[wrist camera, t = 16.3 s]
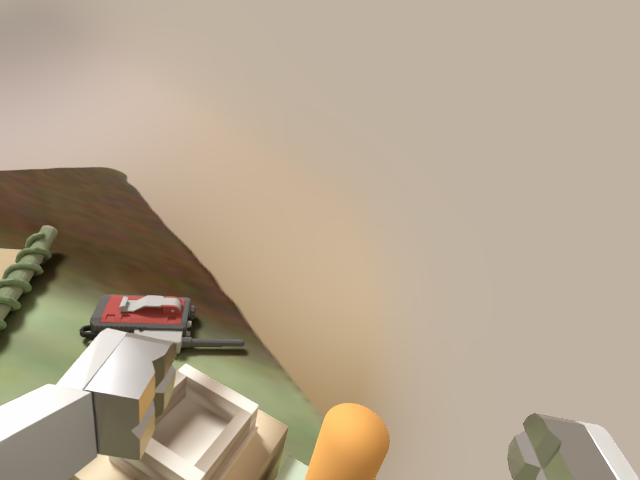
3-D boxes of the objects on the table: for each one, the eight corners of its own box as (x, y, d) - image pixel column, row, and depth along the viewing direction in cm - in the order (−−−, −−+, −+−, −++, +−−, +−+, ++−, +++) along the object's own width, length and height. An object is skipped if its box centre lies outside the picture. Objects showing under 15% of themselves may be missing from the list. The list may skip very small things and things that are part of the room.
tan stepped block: (275, 479, 39) (295, 399, 34) (190, 620, 29) (199, 538, 24) (179, 419, 42) (183, 338, 37) (74, 526, 32) (59, 436, 27)
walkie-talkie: (73, 355, 47) (243, 356, 52) (70, 326, 45) (247, 331, 50) (95, 308, 55) (242, 313, 60) (93, 282, 53) (245, 289, 58)
